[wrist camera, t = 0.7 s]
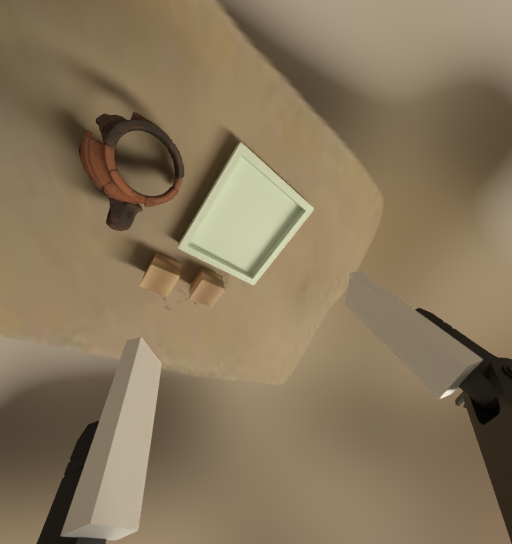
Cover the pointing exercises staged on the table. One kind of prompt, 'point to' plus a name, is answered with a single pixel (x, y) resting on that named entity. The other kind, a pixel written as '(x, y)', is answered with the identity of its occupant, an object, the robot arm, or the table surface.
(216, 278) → the oak cube
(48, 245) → the table surface
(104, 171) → the broken pot
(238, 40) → the table surface
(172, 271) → the oak cube
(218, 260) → the tray
